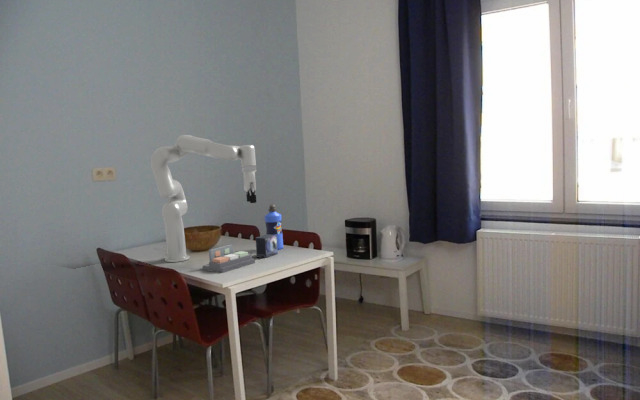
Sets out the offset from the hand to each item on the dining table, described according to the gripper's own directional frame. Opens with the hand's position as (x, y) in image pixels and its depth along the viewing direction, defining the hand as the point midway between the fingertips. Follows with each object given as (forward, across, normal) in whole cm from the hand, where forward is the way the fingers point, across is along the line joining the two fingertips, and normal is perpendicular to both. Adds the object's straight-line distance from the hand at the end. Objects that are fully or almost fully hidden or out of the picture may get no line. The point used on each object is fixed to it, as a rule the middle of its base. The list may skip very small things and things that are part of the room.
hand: (251, 202), depth 261 cm
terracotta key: (+25, +21, -20) cm, 38 cm away
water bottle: (+29, -13, +13) cm, 34 cm away
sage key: (+25, +13, -10) cm, 30 cm away
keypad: (+28, +16, -16) cm, 36 cm away
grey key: (+25, +17, -15) cm, 34 cm away
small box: (+29, +2, +6) cm, 30 cm away
